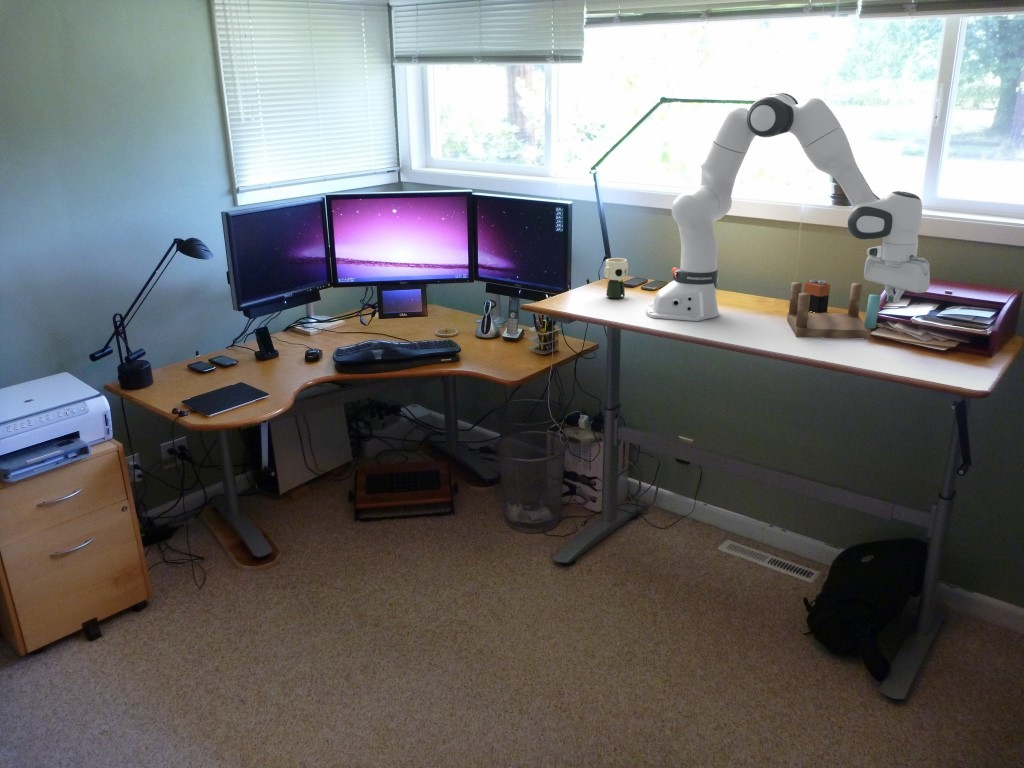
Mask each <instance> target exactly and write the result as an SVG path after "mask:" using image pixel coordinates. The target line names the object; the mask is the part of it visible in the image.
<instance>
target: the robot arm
mask: <svg viewBox="0 0 1024 768" xmlns="http://www.w3.org/2000/svg"><path fill="white" fill-rule="evenodd" d="M843 128H844V127H842V125H841V123H840V122H839V120H838V118H837V116H836V115H835V114H834V113H833V111H832V110H831V108H830V107H829V106H828V105H827V104H826V103H825V102H824V101H823V100H822V99H820V98H817V97H816V98H815V97H814V98H809V99H806V100H804V101H802V102H798V101H797V99H796V98H795V97H794V96H792V95H791V94H788V93H785V92H779V93H771V94H770V93H769V94H767V95H765V96H764V97H760V98H758V99H756V101H754V102H753V103H752V104H751V105H750V107H749V108H748V107H746V106H743V105H742V106H741V105H735V106H731V107H728V108H727V109H726V111H725V112H724V114H723V115H722V116H721V118H720V120H719V122H718V124H717V125H716V127H715V129H714V131H713V133H712V136H711V138H710V141H709V142H708V145H707V146H706V149H705V152H704V154H703V157H702V159H701V161H700V168H701V170H700V171H701V172H700V173H701V174H700V178H699V183H698V185H697V186H696V187H695V188H693V189H689V190H686V191H684V192H682V193H681V194H679V195H678V196H677V197H676V198H675V199H674V200H673V203H672V205H671V215H672V218H673V220H674V221H675V223H677V227H678V230H679V231H678V232H679V238H680V245H681V246H680V267H679V268H678V267H673V268H672V269H671V274H672V279H673V280H672V281H670V282H669V283H668V284H666V285H665V286H663V287H662V288H661V289H659V290H657V292H656V294H655V296H654V300H653V304H650V305H648V306H647V307H646V312H645V313H646V315H647V316H648V317H650V318H653V319H664V320H665V319H666V320H677V321H690V322H691V321H692V322H700V321H704V320H707V319H713V318H716V317H719V315H720V311H719V308H718V301H717V299H718V298H717V288H718V281H719V271H718V257H719V255H718V253H719V244H718V241H717V240H716V239H715V234H714V228H713V227H714V226H713V223H714V222H717V221H719V220H721V219H722V218H723V217H725V216H726V215H727V214H728V212H729V211H730V210H731V208H732V203H733V202H732V201H733V200H732V193H733V189H734V185H735V181H736V178H737V176H738V173H739V171H740V168H741V166H742V164H743V161H744V159H745V157H746V155H747V154H748V153H747V152H748V150H749V148H750V147H751V143H752V141H753V140H754V138H755V137H756V136H758V137H761V138H771V137H776V136H779V135H782V134H786V133H791V134H793V135H794V136H795V137H796V139H797V140H798V142H799V144H800V146H801V148H802V149H803V152H804V153H805V154H806V157H807V158H808V159H809V161H810V162H811V164H813V166H814V167H815V168H816V169H817V170H819V171H821V172H822V173H826V174H827V175H829V176H831V177H832V178H833V179H834V180H835V181H836V182H837V183H838V185H839V186H840V187H841V189H842V191H843V193H844V195H845V196H846V197H847V200H848V201H849V203H850V205H851V207H852V212H851V213H850V215H849V216H848V219H847V229H848V230H849V233H850V234H851V235H852V237H854V238H857V239H858V240H862V241H869V240H876V239H882V244H880V245H878V246H877V245H876V246H873V247H869V248H867V249H866V255H867V258H866V260H865V263H864V268H863V269H864V270H863V277H864V280H866V281H868V282H873V283H875V284H880V285H884V291H885V293H886V302H889V303H891V304H895V305H896V304H899V303H900V302H901V298H902V296H903V294H904V293H905V291H909V292H912V293H916V294H923V293H926V292H927V291H928V290H929V289H930V284H931V283H930V282H931V276H930V275H931V272H930V263H929V261H928V260H927V259H926V258H925V257H920V256H917V254H918V248H919V231H920V228H921V225H922V215H923V202H922V199H921V198H920V196H918V195H917V194H915V193H912V192H908V191H907V192H906V191H899V190H898V191H897V190H896V191H892V192H890V193H889V194H888V195H886V196H884V197H882V198H880V197H878V196H877V195H876V194H875V193H874V192H873V190H872V189H871V187H870V185H869V184H868V181H867V180H866V178H865V177H864V175H863V174H862V172H861V170H860V168H859V166H858V165H857V162H856V159H855V157H854V154H853V151H852V148H851V147H852V146H850V145H851V144H850V141H849V139H848V137H847V135H846V132H845V131H844V129H843ZM894 292H895V294H894Z"/></svg>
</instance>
